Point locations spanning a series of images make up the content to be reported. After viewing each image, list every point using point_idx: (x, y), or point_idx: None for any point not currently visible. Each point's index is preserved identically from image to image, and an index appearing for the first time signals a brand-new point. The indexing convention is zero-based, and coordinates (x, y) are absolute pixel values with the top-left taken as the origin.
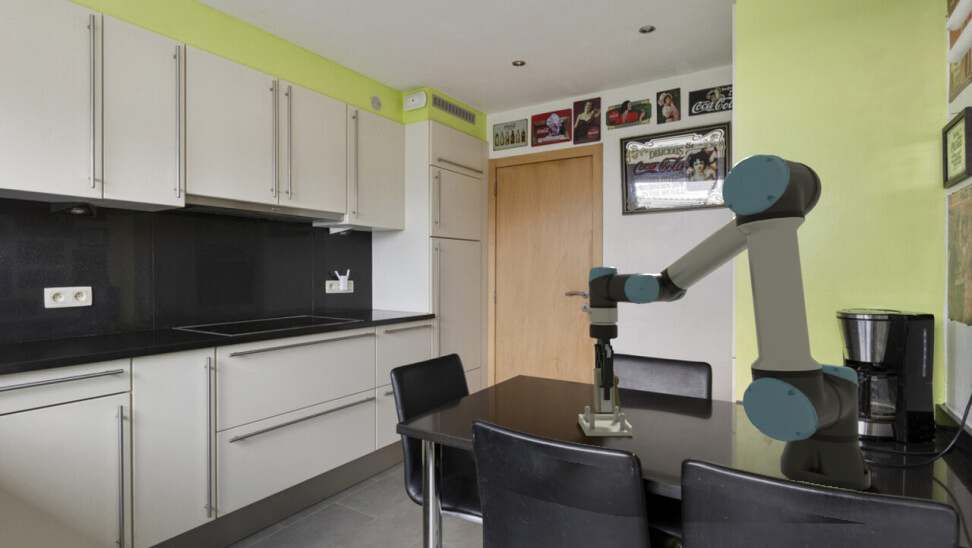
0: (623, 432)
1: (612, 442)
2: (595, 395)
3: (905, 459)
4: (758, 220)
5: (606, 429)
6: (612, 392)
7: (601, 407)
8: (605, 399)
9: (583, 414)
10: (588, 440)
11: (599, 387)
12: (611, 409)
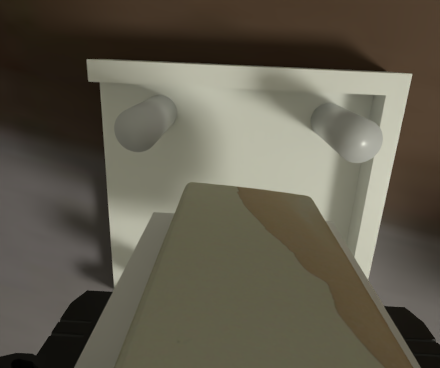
0: (112, 263)
1: (14, 177)
2: (217, 243)
3: None
4: None
5: (152, 193)
6: None
7: (145, 229)
8: (78, 302)
9: (401, 110)
10: (26, 54)
11: (19, 358)
12: None
